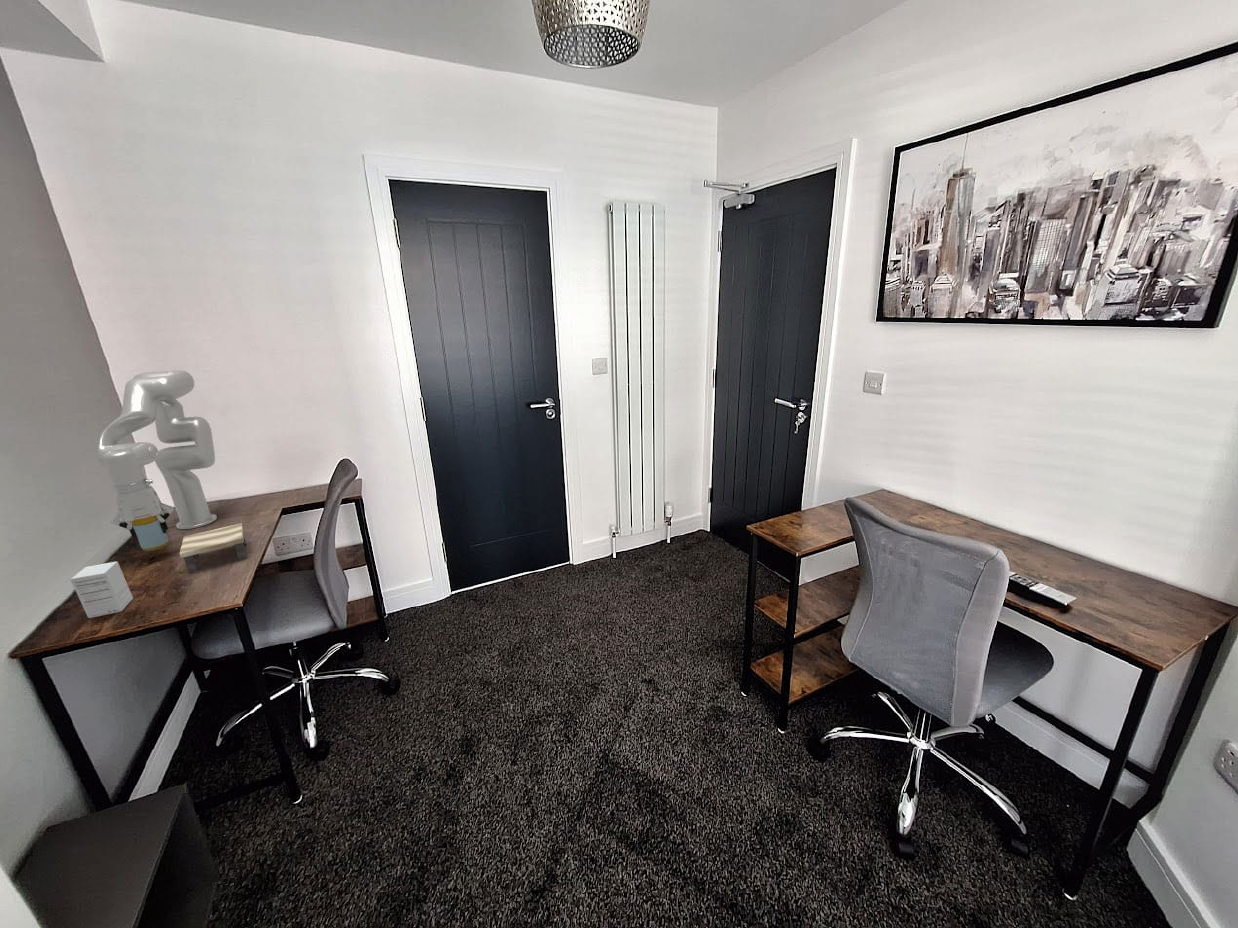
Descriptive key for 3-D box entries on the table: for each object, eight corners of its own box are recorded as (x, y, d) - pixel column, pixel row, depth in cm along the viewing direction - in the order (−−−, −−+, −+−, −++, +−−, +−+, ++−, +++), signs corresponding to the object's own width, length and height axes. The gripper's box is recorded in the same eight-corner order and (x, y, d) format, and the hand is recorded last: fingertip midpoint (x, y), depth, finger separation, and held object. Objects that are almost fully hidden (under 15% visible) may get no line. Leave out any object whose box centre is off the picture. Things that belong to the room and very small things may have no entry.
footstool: (190, 556, 167) (183, 536, 165) (247, 541, 176) (241, 523, 174) (187, 574, 155) (179, 553, 152) (248, 558, 164) (242, 538, 161)
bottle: (153, 552, 163) (136, 512, 157) (137, 550, 164) (120, 511, 159) (175, 542, 169) (159, 503, 164) (159, 540, 170) (143, 502, 165)
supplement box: (101, 605, 140) (84, 566, 136) (134, 598, 143) (118, 560, 139) (86, 619, 133) (68, 579, 130) (121, 611, 136) (104, 572, 132)
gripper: (167, 476, 166) (185, 523, 173) (97, 490, 157) (118, 538, 163) (165, 483, 161) (183, 531, 167) (92, 497, 151) (114, 547, 157)
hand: (151, 534), depth 165 cm, fingers closed on bottle, 6 cm apart
